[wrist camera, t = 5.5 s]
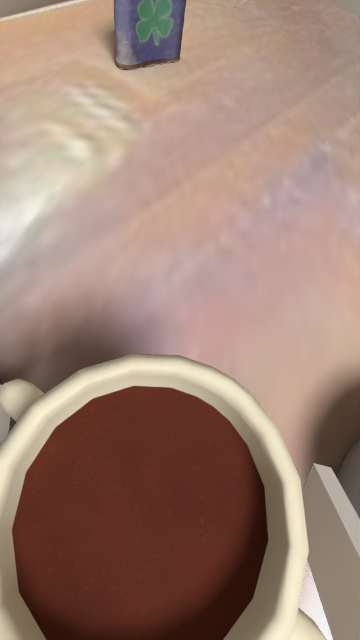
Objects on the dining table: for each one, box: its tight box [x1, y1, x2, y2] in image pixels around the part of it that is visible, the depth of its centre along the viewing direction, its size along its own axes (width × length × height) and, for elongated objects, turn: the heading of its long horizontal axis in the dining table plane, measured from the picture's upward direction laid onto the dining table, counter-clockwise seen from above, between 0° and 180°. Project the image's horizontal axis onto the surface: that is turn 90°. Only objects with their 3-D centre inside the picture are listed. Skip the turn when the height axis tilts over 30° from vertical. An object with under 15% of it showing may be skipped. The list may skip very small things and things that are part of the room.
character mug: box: [0, 354, 327, 640], centre depth 13 cm, size 11×7×13 cm, turn 54°
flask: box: [114, 0, 186, 70], centre depth 38 cm, size 9×3×11 cm, turn 122°
